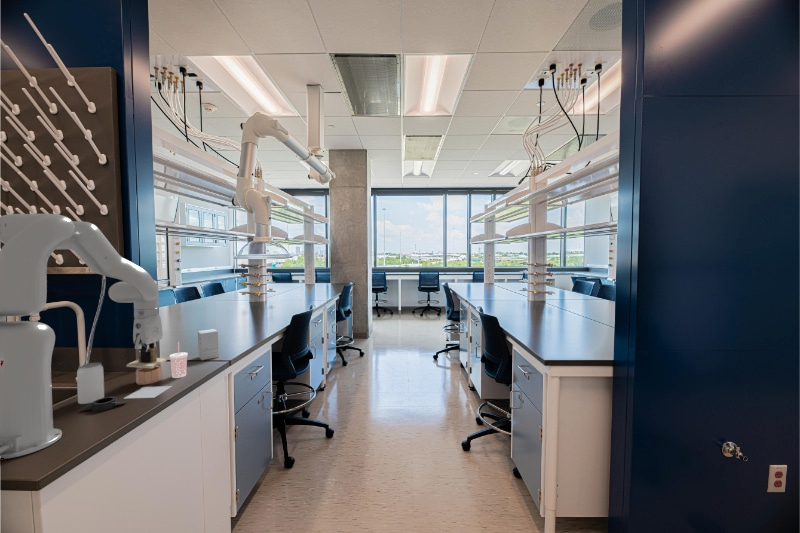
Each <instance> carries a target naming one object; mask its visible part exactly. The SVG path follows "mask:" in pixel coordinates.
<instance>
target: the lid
mask: <svg viewBox="0 0 800 533" xmlns="http://www.w3.org/2000/svg"><path fill="white" fill-rule="evenodd" d="M149 351H150V355H151V361H150V362H143V363H142V362H141V352H139V351H138V359H135V360H134V361H132V362H129V363H127V364H126V368H138V369H140V368H154V367H156V366H160V365H162V364H163V363H166V362H167V361H168V358H163V357H161V358H160V357H158V347H156V348H149Z"/></svg>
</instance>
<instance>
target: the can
mask: <svg viewBox="0 0 800 533" xmlns="http://www.w3.org/2000/svg"><path fill="white" fill-rule="evenodd" d="M104 378H105V377H104V366H103V365H102V362H89V363H85V364H82V365H79V366H78V369H77V371H76V382H77V384H76V388H77V404H80V405H86V404H87V405H88V404H92V402H94V401H95V400H98V399H101V398H105V380H104Z"/></svg>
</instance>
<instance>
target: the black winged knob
mask: <svg viewBox="0 0 800 533" xmlns="http://www.w3.org/2000/svg"><path fill="white" fill-rule="evenodd" d="M117 398H118V397H117V396H106V397H105V396H104V398H101V399H98V400H95V401H94V402H92V403H89V404H87V405H86V406H83V407H81V409H80V412H83V411H88V410H92V412H94V413H97V412H98V413H99V412H100V413H101V412H104V411H105V412H106V411H108V410H112V409H114V408H116V407H117V405H118V404H121V403H127V402H128V400H123V401H118V399H117Z"/></svg>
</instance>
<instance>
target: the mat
mask: <svg viewBox="0 0 800 533" xmlns="http://www.w3.org/2000/svg"><path fill="white" fill-rule="evenodd" d="M172 387H173V386H172V385H170V386H169V385H165V386H164V385H163V386H143V387H141V388H139V389H137V390H136V391H134V392H132V393H130V394H129V395H126V396H125V397H124V398H123V399H125V400H127V399H150V398H151V399H155V398H156V397H158V396H159V395H161V394H162V393H164V392H166V391H167V390H169V389H170V388H172Z"/></svg>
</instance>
